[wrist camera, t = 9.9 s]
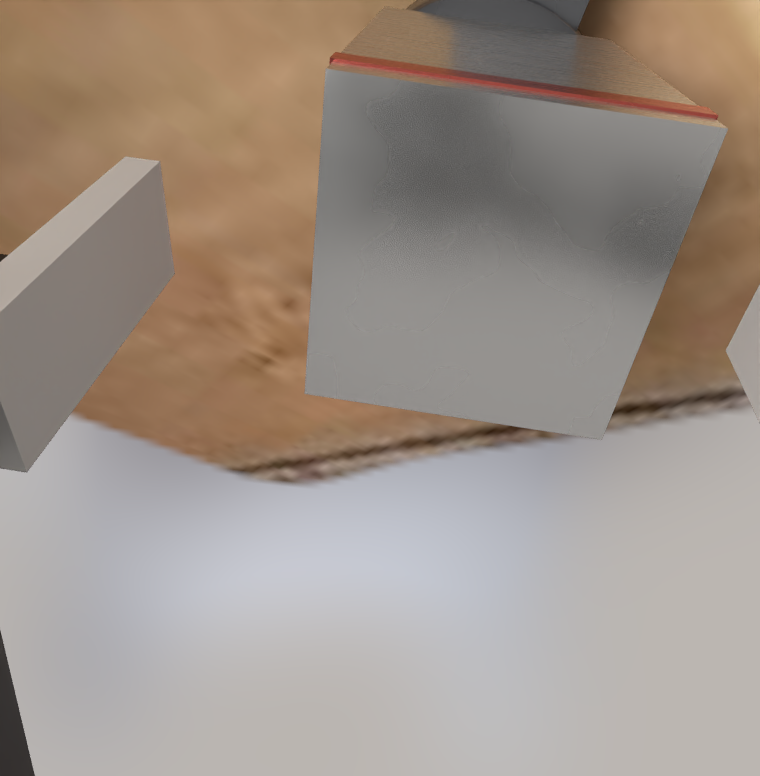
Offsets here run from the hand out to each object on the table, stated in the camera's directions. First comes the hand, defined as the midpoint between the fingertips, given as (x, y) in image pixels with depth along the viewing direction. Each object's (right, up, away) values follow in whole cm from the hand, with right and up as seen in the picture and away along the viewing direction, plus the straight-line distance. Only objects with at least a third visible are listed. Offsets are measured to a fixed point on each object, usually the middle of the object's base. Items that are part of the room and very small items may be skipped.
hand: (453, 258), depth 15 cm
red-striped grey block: (+1, +5, +6) cm, 8 cm away
